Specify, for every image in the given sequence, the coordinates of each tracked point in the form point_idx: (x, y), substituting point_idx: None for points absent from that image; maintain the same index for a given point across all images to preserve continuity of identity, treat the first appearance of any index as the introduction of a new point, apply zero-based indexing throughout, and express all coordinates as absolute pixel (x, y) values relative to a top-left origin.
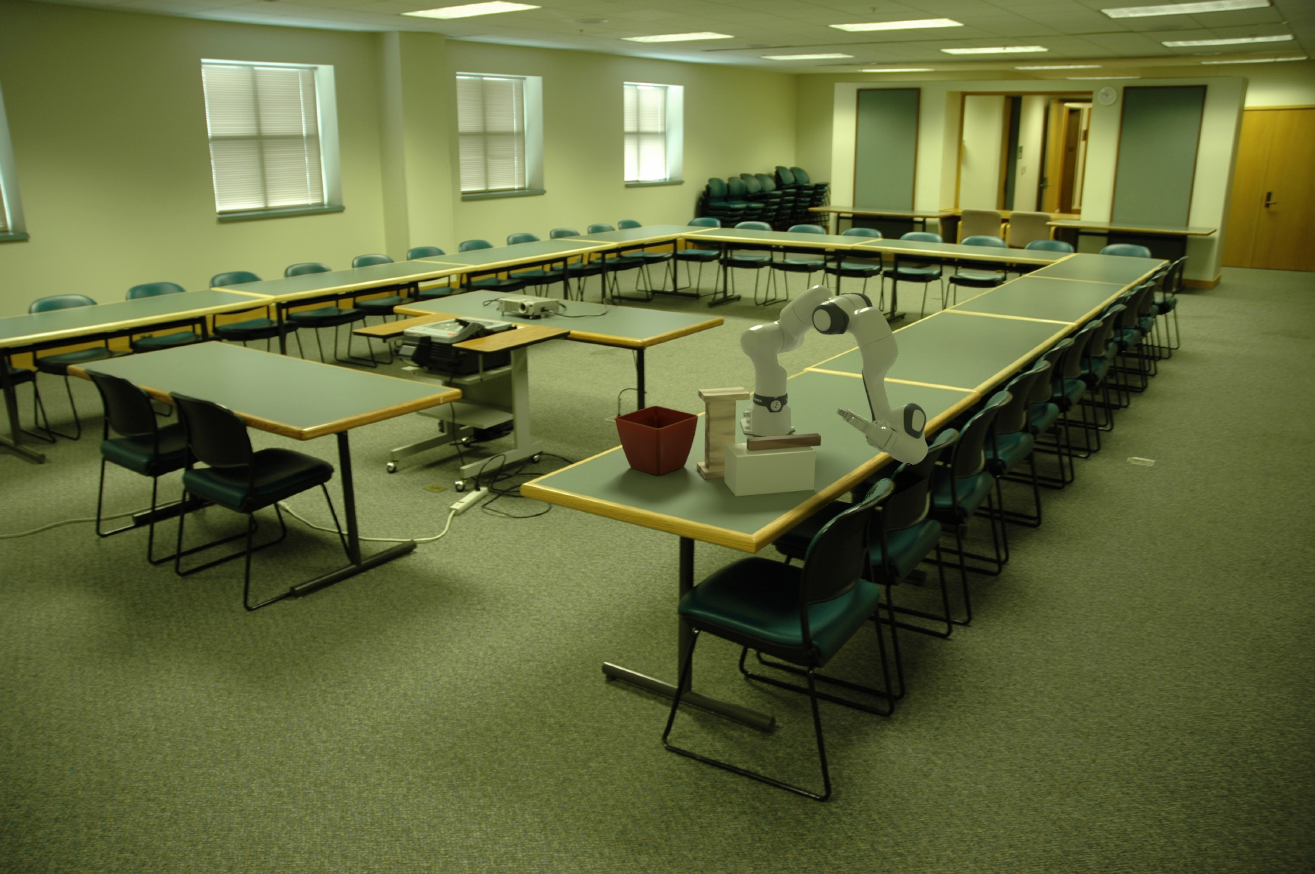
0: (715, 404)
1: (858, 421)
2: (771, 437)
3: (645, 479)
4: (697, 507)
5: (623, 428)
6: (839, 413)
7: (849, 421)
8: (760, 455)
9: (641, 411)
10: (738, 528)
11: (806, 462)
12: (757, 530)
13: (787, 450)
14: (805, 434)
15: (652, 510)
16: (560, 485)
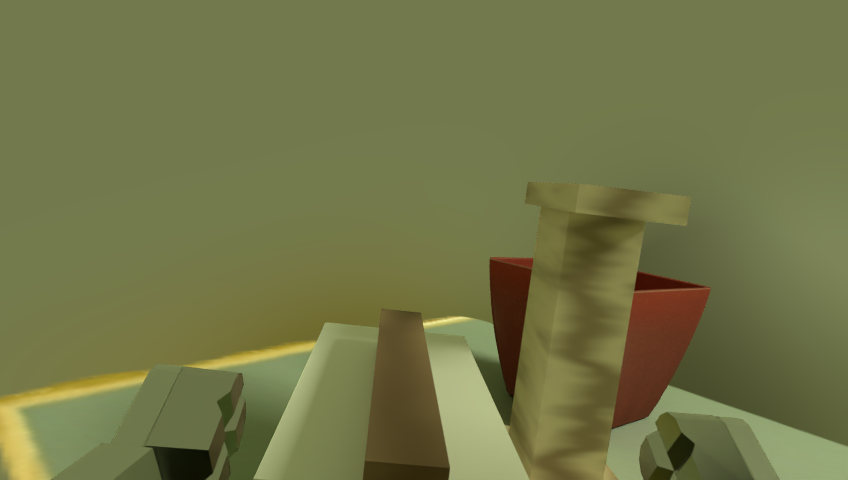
0: (543, 218)
1: (99, 459)
2: (409, 339)
3: (487, 379)
4: (276, 391)
5: None
6: (644, 456)
7: (239, 423)
8: (313, 349)
9: (654, 279)
10: (84, 403)
11: None
12: (26, 422)
13: (334, 404)
14: (429, 416)
15: (302, 354)
16: (466, 326)
